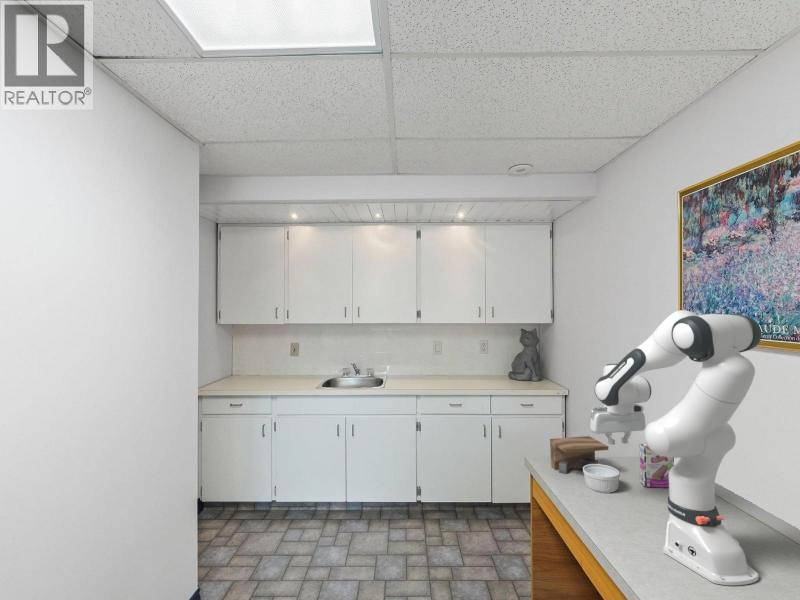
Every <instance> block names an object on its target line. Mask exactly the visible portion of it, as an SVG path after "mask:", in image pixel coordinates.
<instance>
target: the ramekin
mask: <svg viewBox="0 0 800 600" xmlns="http://www.w3.org/2000/svg"><path fill="white" fill-rule="evenodd" d="M582 472H583V477H584V481H585V484H586V486H587V488H589V489H590V490H591V489H592V490H591V491H594V492H597V491H598V493H601V492H602V493H601V494H610V493H611V492H612V493H615V492H616V491H617V490H618V489H619V481H620V471H619V470H618V469H616V467H612V466H610V465H608V464H607V465H606V464H601V463H598V464H589V465H585V466H584V467H583V469H582ZM614 491H615V492H614Z"/></svg>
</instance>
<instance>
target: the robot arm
mask: <svg viewBox="0 0 800 600" xmlns="http://www.w3.org/2000/svg"><path fill="white" fill-rule="evenodd" d="M761 340H762V329H761V327H760V325H759V323H758V322H757V321H756V320H755V319H754V318H752V317H750V316H747V315H743V314H739V313H729V314H726V313H725V314H724V313H720V314H719V313H709V314H706V313H705V314H697V313H695V312H693V311H689V310H685V309H683V310H682V309H681V310H675V311H674V312H672V313H671V314H670V315H668V316H667V317H666V318H665V319H664V320H662V322H661V323H660V324H659V325H658V326H657V327H656V328H655V330H654V331H653V332H652V333H651V334H650V335H649V337H648V338H646V339H645V340H644V341H643V342H642V343H641V344H640V345H638V346H637V347H635V348H634V349H632V350H631V351H630V352H629V353H627V354H626V355H625V356H624V357H623V358H622V359H621V360H619V362H618V363H607V364H606V365H604V367H603V372H602V376H601V377H599V378H598V379H597V381H596V383H595V385H594V393H595V396H596V398H597V399H598V400H599V402H601V403H602V404H603V406H602V407H594V408H593V409H592V410H591V411H590V426H589V427H590V428H589V429H590V430H591V432H593V433H595V434H597V435H598V434H599V435H600V434H602V435H605V437H606V438H607V441H608V442H607V443H608V445H611V446H612V445H616V443H615V442H616V440H615V439H614V438H612V436H613V434H615V433H624V434H623V437H621V443H622V444H625V445H626V444H629V439H630V436H631V435H632V432H642V431H644V434H643V436H644V437H643V438H644V441H645V443H646V444H647V446H648V447H649V448H650V450H651V451H652V452H653V453H655V454H656V455H659V456H664V457H672V458H674V459H678V458H679V459H678V461H677V463H674V466H673V467H672V468H671V469H670V471H669V488H668V496H667V502H666V503H667V510H668V512H669V515H668V518H667V523H666V531H665V532H666V533H665V539H664V545H663V547H662V553H664V554H665V555H667V556H669V557H670V558H672V559H673V560H675V561H677V562H678V563H680V564H681V565H683V566H685V567H687V568H688V569H690V570H691V571H693V572H694V573H696V574H698V575H700V576H702V577H703V578H704V579H706V580H708V582H709V581H710V582H711V583H713V584H717V585H722V586H744V585H750V584H754V583H755V582H758V580H759V578H760V576H759V573H758V572H757V571H756V570H755V569H754V568H752V567H751V566H750V565H748V563H747V559H746V558H747V557H746V554H745V552H744V549H743V548H742V546H740V542H739V541H738V539H736V538H734V537H733V536H732V535H731V533H730V532H729V531H728V529H726V527H725V526H724V525H723V523H722V521H724V520H725V518H724V517H725V515H721V514H720V513H719V511H718V508H717V505H716V497H715V495H716V494H715V493H716V491H715V488H716V485H715V484H716V477H717V475H718V470H719V468H720V466H721V463H722V461H723V459H724V458H725V456H726V455H727V454H728V453H729V452H730V451H731V450H732V449H733V448H734V446H735V444H736V440H737V438H736V433H735V431H734V429H733V427H732V426H731V425H730V424H729V423H728V422H729V421H730V420H731V418H732V417H733V415H735V414H734V413H735V412H736V411H737V410H738V408H739V406H740V405H741V404H742V402H743V400H745V397H746V396H747V394H748V392H749V390H750V388H751V386H752V384H753V382H754V381H753V380H754V377H755V373H756V369H755V366H754V364H753V363H752V361H751V360H750V359H748V358H747V357H745V356H744V355H742V354H741V353H744V352H748V351H750V350H752V349H754V348H755V347H757V346H758V345H760V342H761ZM687 357H688V358H689V359H690V360H691V361H692V362H696V363H702V366H701V369H700V371H699V373H698V374H697V376H696V377H695V380H694V381H693V383H692V385H691V386H690V387H689V390H688V391H687V393H686V394H685V395H684V397H683V398H682V399H681V400H680V401H679V402H678V403H677V404H676V405H675V406H673V408H672V409H670V410H669V411H668V412H666V413H665V414H664V415H663V416H661V417H659V418H658V419H656V420H654V421H651V422H649V423H647V425H646V417H645V414H644V409H645V408H644V406H642V405H641V403H646V402H648V401H649V400H650V398H651V397H652V387H651V384H650V382H649V381H648V380H647V378H645V377H644V376H641V375H640V374H642V373H645V372H649V371H654V370H659V369H665V368H671V367H674V366H676V365H678V364H679V363H681V362H682V361H683V360H684V359H686V358H687Z"/></svg>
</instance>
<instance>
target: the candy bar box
mask: <svg viewBox="0 0 800 600" xmlns="http://www.w3.org/2000/svg"><path fill="white" fill-rule="evenodd" d="M638 445H639V446H638V448H639V449H638V450H639V451H638V452H639V453H638V454H639V484H641V485H642V486H643V485H644V486H645V487H644V486H643V487H644V488H646V487H648V488H647V489H649V488H650V489H651V488H652V489H653V488H656V489H657V488H658V489H662V488H663V489H669V471H670V469H671V468H672V467H673V466H674V465H675V458H672V457H664V456H659V455H656V454H655V453H653V452H652V451H651V450H650V448H649V447H648V446H647V444H646V442H639V443H638Z"/></svg>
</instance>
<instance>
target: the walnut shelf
mask: <svg viewBox="0 0 800 600" xmlns="http://www.w3.org/2000/svg"><path fill="white" fill-rule="evenodd" d="M549 445H550V447H549V449H550V450H549V451H550V467H551V468H552V469H553V470H554V471H558V473H560V474H564V475H567V474H568V473H569V471H571V469H572V470H573V469H582V470H583V467H584V466H585V465H589V464H599V460H598V459H596V452H598V451H600V452H601V451H609V446H608V445H606V444H605V443H603V442H601V441H600V440H597V439H595V438H593V437H592V436H590V435H587V436H586V435H585V436H573V437H572V436H571V437H561V438H560V437H557V438H550V439H549Z"/></svg>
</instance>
